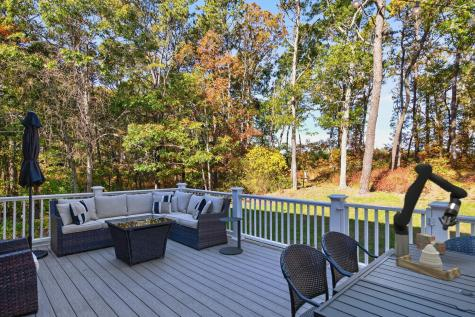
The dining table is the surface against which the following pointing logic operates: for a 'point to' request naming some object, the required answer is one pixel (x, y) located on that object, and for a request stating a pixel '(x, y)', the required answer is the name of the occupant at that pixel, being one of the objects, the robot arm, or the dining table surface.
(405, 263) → the oak bay
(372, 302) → the dining table surface
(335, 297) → the dining table surface
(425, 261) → the honey pot
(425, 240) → the stack of blocks
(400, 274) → the dining table surface
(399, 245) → the robot arm
